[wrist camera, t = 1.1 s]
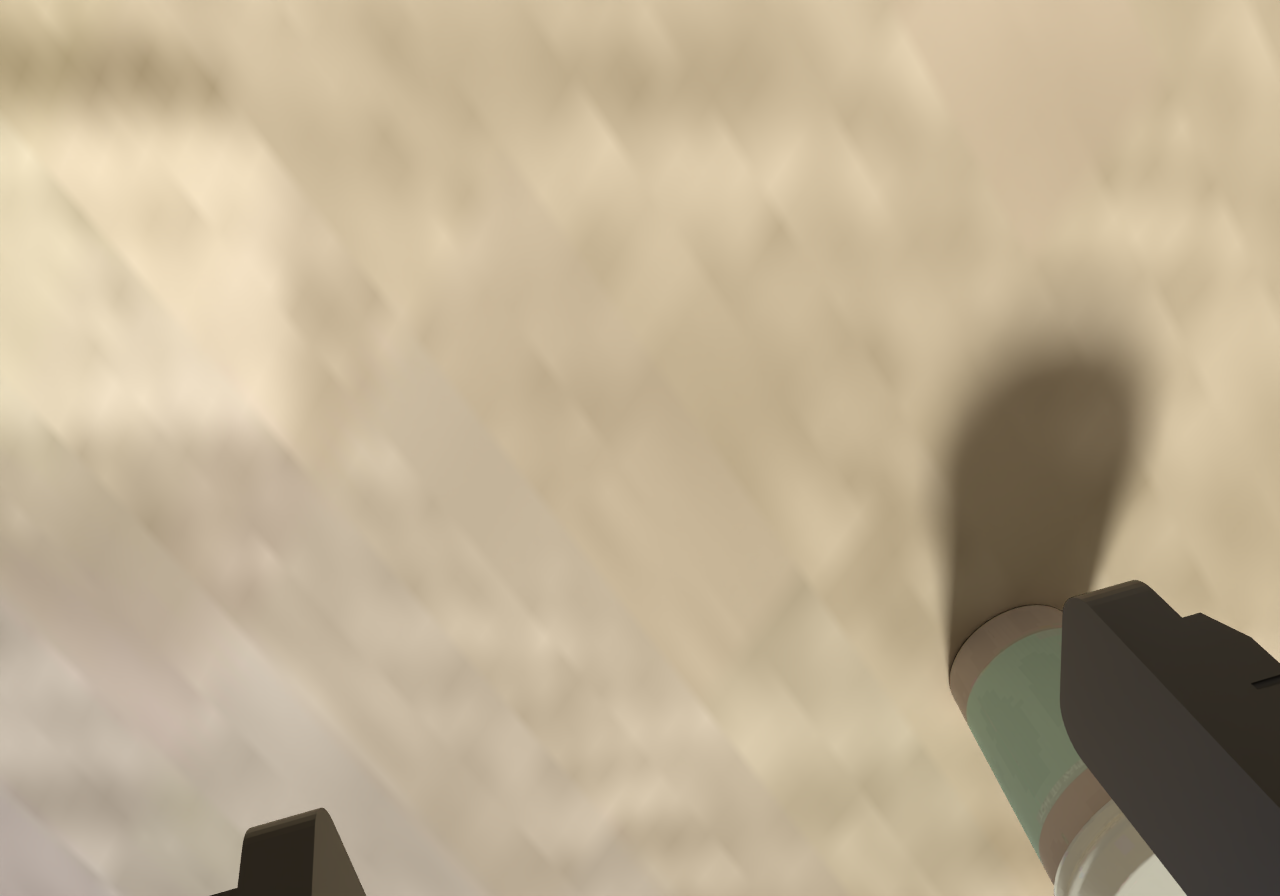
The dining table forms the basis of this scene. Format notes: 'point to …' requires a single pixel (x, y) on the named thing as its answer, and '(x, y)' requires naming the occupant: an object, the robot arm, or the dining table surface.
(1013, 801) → the coffee cup
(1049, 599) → the dining table surface
